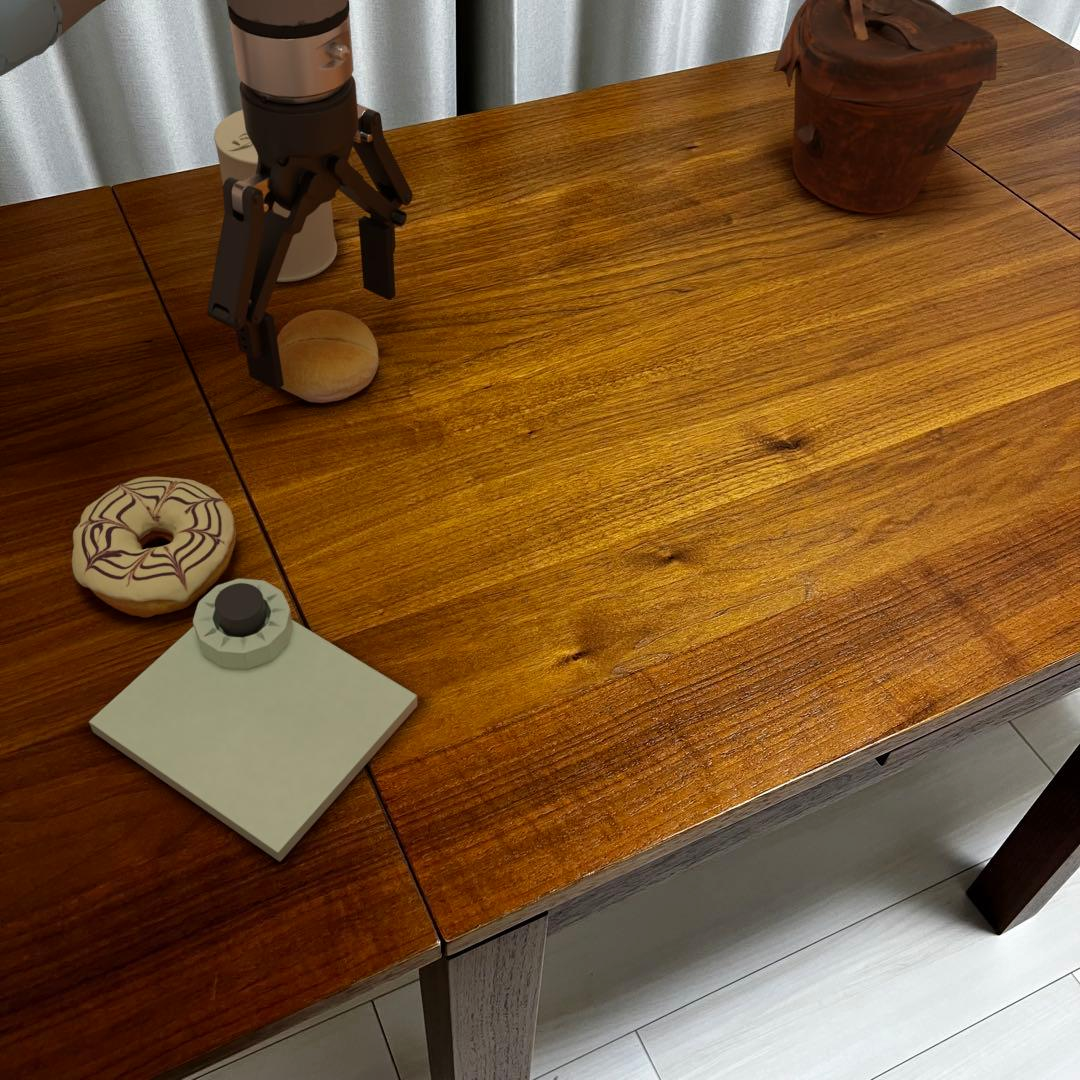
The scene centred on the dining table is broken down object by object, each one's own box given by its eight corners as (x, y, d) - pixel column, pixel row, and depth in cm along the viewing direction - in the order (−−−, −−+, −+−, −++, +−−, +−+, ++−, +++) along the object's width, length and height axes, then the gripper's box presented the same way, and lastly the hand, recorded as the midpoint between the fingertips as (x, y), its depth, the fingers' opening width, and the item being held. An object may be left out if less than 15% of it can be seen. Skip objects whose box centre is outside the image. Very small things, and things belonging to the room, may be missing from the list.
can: (211, 245, 106) (190, 121, 97) (298, 210, 111) (285, 87, 102) (270, 296, 102) (253, 171, 93) (358, 257, 106) (350, 134, 97)
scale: (92, 732, 73) (81, 705, 71) (244, 593, 81) (238, 564, 78) (280, 862, 68) (274, 837, 66) (422, 701, 76) (421, 674, 74)
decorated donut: (55, 612, 79) (40, 576, 76) (114, 495, 86) (102, 458, 83) (210, 633, 78) (201, 597, 75) (256, 514, 85) (249, 477, 83)
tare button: (208, 622, 76) (204, 605, 74) (241, 592, 77) (237, 575, 76) (244, 644, 75) (240, 627, 73) (276, 613, 76) (273, 596, 75)
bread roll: (269, 407, 93) (263, 367, 90) (282, 333, 99) (276, 294, 96) (376, 409, 93) (373, 370, 90) (382, 336, 99) (380, 297, 96)
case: (785, 111, 128) (824, -62, 114) (969, 164, 123) (1033, -11, 109) (728, 191, 117) (764, 10, 104) (927, 253, 112) (993, 71, 99)
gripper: (204, 179, 69) (252, 443, 85) (456, 24, 84) (457, 275, 99) (111, 138, 72) (175, 402, 88) (371, -6, 86) (386, 243, 102)
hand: (325, 335), depth 94 cm, fingers open, 13 cm apart
